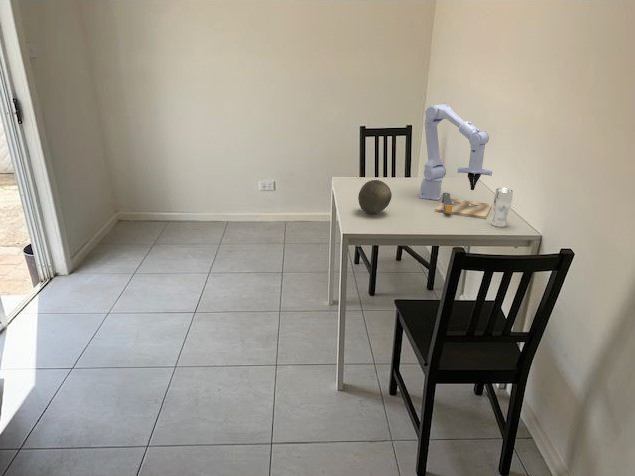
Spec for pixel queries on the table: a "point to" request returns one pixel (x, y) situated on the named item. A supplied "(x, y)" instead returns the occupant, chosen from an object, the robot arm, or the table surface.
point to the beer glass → (502, 206)
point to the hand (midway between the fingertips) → (472, 189)
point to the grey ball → (374, 196)
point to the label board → (466, 208)
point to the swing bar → (447, 202)
